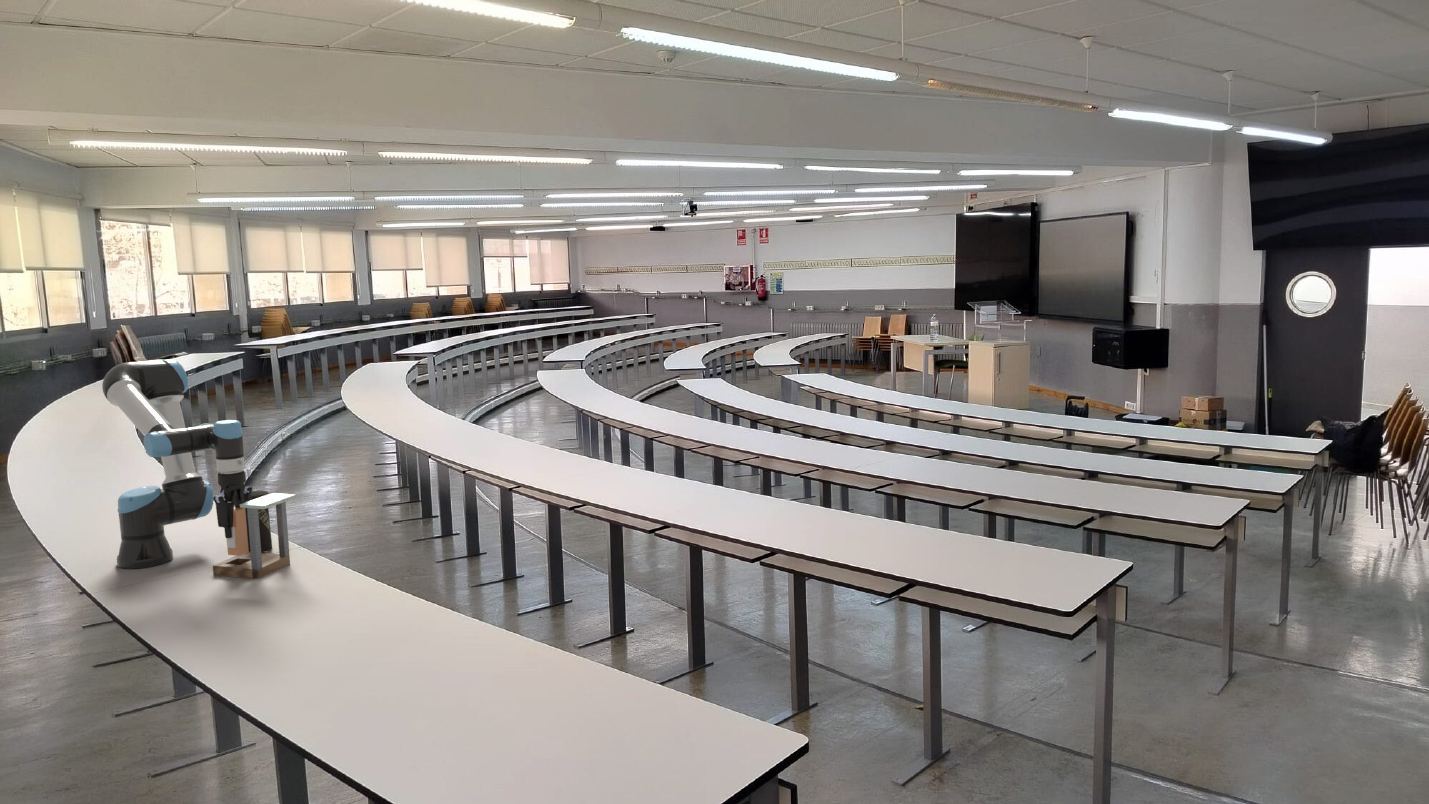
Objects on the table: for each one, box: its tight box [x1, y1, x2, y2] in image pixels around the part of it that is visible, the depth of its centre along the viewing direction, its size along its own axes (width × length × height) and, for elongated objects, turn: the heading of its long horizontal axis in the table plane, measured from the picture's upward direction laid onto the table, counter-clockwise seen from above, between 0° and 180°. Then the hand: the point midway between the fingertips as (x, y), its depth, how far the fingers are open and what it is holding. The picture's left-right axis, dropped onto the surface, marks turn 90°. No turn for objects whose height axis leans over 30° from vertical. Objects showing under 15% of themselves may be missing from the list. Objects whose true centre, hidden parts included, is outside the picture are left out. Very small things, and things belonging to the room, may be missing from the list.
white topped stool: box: [240, 492, 297, 580], centre depth 273 cm, size 8×14×23 cm, turn 167°
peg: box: [227, 506, 249, 556], centre depth 273 cm, size 4×4×14 cm
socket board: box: [212, 552, 291, 580], centre depth 276 cm, size 16×14×3 cm
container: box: [247, 489, 273, 553], centre depth 294 cm, size 9×9×20 cm
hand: (237, 545), depth 274 cm, fingers closed on peg, 4 cm apart
